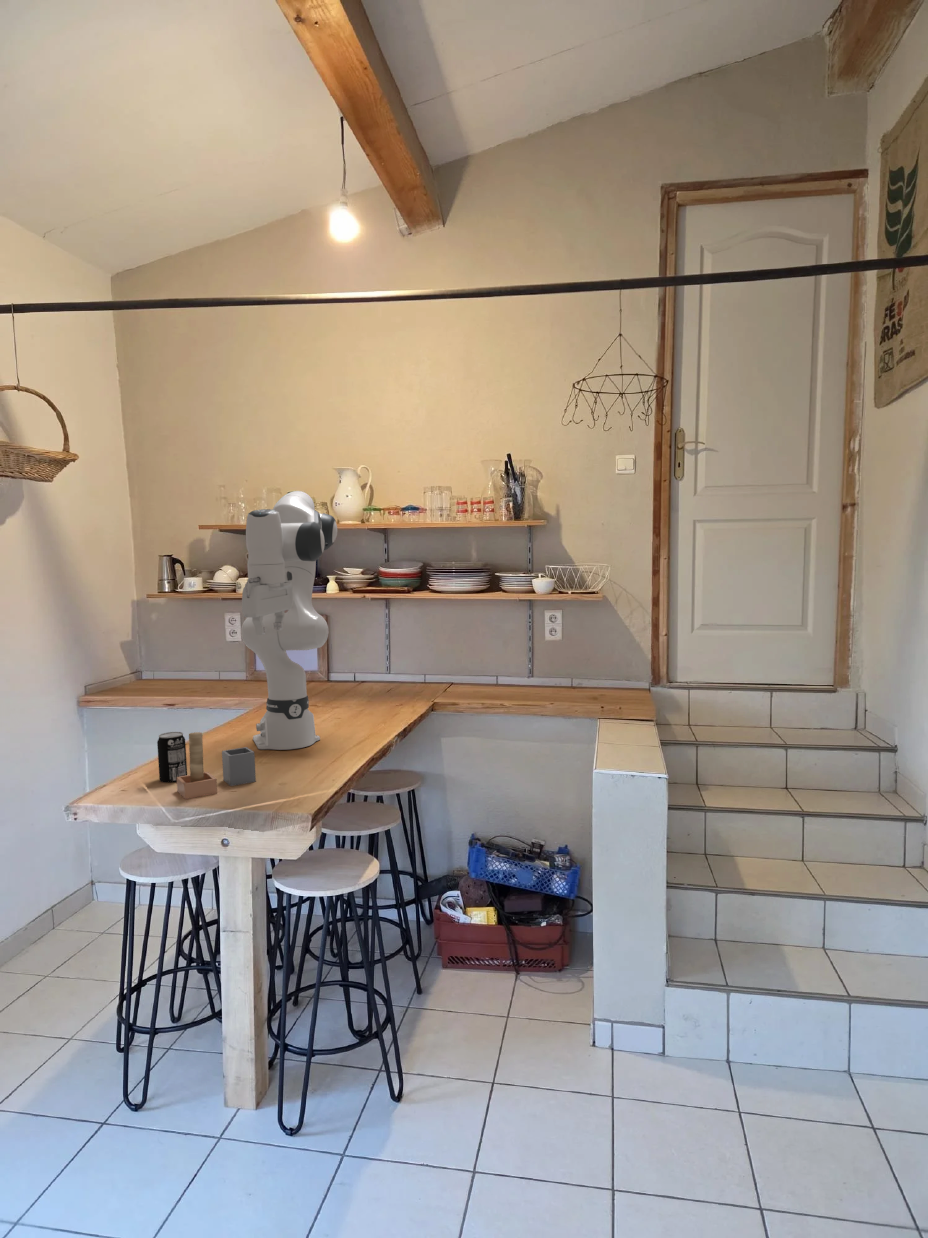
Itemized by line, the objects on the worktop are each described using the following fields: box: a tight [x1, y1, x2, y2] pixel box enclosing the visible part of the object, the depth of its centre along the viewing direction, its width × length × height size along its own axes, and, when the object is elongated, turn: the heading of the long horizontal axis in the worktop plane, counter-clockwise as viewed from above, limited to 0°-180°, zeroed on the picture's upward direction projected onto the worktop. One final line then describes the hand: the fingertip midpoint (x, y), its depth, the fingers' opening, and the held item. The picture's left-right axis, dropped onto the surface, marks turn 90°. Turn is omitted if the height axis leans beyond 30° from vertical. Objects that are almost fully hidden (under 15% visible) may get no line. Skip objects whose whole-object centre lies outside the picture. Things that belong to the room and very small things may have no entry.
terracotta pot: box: [176, 771, 218, 800], centre depth 187 cm, size 7×7×4 cm
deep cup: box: [221, 746, 257, 787], centre depth 195 cm, size 6×6×8 cm
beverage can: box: [156, 731, 188, 784], centre depth 198 cm, size 7×7×12 cm
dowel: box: [188, 731, 204, 782], centre depth 186 cm, size 3×3×14 cm
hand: (269, 632), depth 195 cm, fingers open, 8 cm apart
